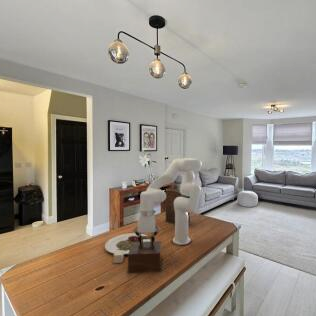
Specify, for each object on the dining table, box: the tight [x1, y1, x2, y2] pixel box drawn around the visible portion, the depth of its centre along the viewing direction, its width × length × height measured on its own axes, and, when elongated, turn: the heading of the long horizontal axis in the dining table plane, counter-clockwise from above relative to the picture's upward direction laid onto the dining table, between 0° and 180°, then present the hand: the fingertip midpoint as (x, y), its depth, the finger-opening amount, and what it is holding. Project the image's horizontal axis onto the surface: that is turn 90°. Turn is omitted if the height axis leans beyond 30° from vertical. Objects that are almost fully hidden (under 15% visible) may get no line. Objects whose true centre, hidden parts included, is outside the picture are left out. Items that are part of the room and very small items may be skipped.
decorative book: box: [165, 188, 191, 226], centre depth 174 cm, size 23×7×30 cm, turn 56°
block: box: [113, 251, 125, 264], centre depth 113 cm, size 4×4×4 cm
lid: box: [127, 235, 162, 257], centre depth 110 cm, size 14×17×5 cm
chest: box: [127, 248, 162, 273], centre depth 110 cm, size 13×17×9 cm
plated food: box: [104, 232, 150, 255], centre depth 132 cm, size 30×30×3 cm
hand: (146, 242), depth 114 cm, fingers open, 6 cm apart
